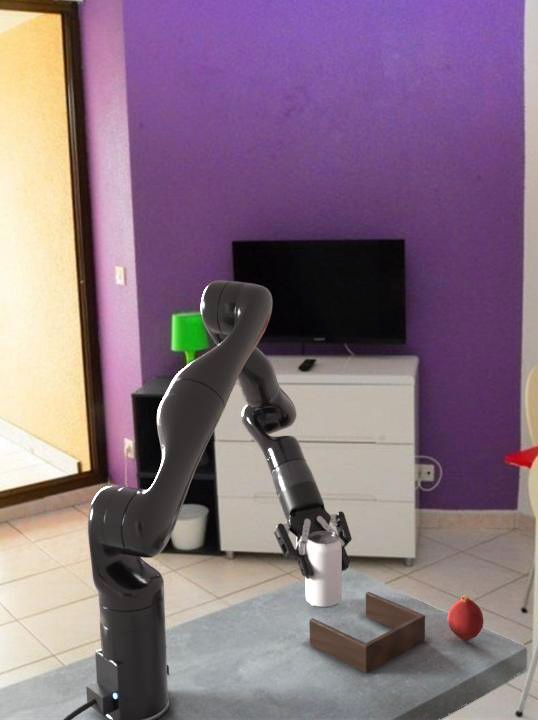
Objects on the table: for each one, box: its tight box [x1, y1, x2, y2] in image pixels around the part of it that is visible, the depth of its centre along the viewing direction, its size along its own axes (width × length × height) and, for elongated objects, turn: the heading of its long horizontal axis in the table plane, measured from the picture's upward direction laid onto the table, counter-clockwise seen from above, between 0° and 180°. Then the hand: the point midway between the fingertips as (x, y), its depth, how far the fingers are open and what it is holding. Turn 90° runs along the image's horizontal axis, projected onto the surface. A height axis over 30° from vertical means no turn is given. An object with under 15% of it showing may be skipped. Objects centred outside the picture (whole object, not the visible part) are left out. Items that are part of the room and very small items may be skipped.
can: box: [305, 531, 343, 609], centre depth 162 cm, size 6×6×12 cm
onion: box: [446, 595, 485, 642], centre depth 150 cm, size 6×6×8 cm
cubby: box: [309, 591, 426, 674], centre depth 150 cm, size 15×13×4 cm
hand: (328, 572), depth 160 cm, fingers closed on can, 6 cm apart
